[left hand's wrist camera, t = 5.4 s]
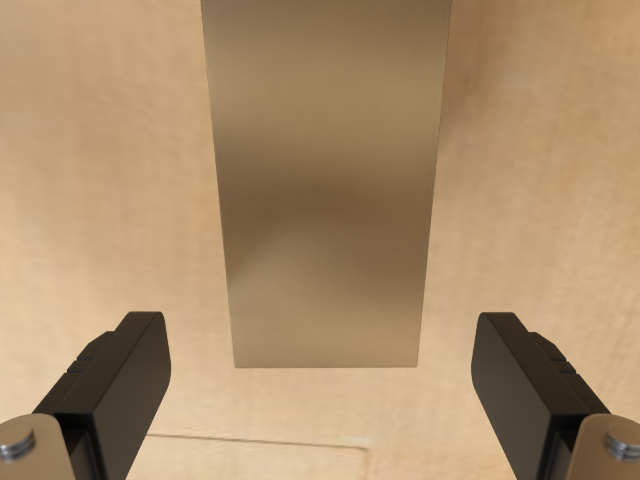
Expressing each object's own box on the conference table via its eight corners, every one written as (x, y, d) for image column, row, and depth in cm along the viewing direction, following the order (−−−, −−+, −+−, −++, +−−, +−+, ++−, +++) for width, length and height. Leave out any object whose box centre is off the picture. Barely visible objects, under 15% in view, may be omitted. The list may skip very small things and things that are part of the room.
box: (381, 252, 24) (417, 368, 15) (265, 252, 24) (234, 368, 15) (408, -265, 16) (512, -639, 7) (237, -264, 16) (140, -638, 7)
